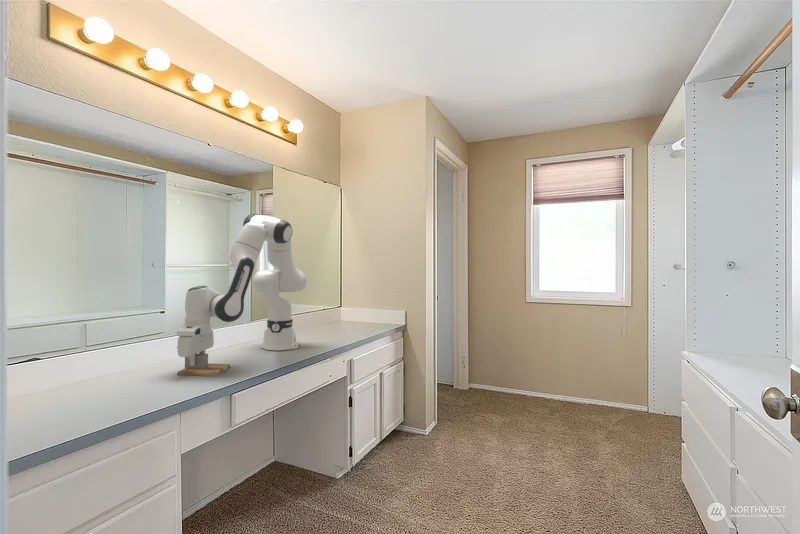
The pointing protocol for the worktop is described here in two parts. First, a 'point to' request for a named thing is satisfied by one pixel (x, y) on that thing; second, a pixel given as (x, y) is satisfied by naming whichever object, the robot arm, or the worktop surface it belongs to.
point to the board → (205, 370)
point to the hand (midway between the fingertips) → (196, 363)
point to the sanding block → (197, 362)
